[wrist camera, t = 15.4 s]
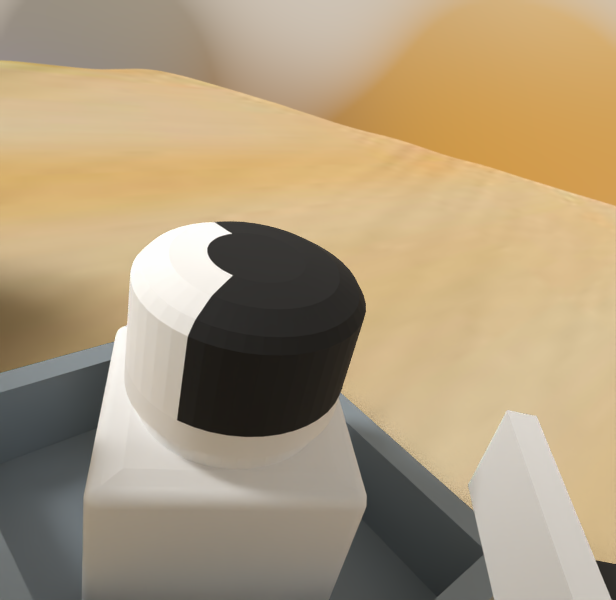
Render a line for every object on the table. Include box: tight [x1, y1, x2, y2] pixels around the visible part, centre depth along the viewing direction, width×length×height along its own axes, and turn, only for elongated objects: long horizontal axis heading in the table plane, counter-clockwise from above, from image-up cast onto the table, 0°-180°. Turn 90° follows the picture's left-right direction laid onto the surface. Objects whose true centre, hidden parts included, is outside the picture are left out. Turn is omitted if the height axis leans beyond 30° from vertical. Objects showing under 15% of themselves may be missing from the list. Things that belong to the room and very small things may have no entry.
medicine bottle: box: [82, 222, 367, 600], centre depth 18 cm, size 7×7×12 cm
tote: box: [0, 342, 494, 600], centre depth 20 cm, size 16×14×4 cm
